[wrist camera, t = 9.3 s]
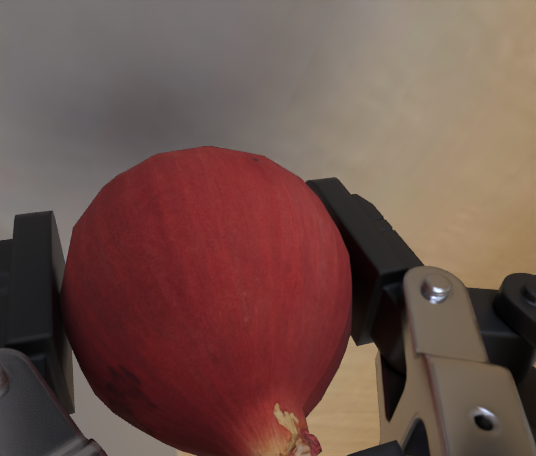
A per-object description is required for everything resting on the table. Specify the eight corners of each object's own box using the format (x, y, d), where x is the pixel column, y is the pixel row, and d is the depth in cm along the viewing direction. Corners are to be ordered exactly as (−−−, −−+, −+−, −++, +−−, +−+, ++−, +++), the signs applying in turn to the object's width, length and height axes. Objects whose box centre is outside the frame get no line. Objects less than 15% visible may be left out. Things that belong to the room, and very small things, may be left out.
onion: (200, 292, 16) (289, 570, 10) (15, 231, 12) (-14, 606, 6) (318, 153, 14) (513, 395, 8) (140, 34, 10) (258, 311, 5)
